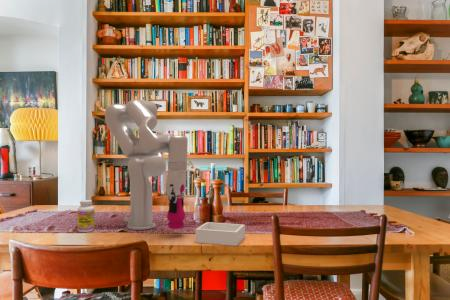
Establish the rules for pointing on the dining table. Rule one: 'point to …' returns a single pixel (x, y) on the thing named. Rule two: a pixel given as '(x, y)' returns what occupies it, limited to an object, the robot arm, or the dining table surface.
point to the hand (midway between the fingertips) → (176, 210)
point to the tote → (220, 233)
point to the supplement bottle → (85, 216)
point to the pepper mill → (180, 215)
